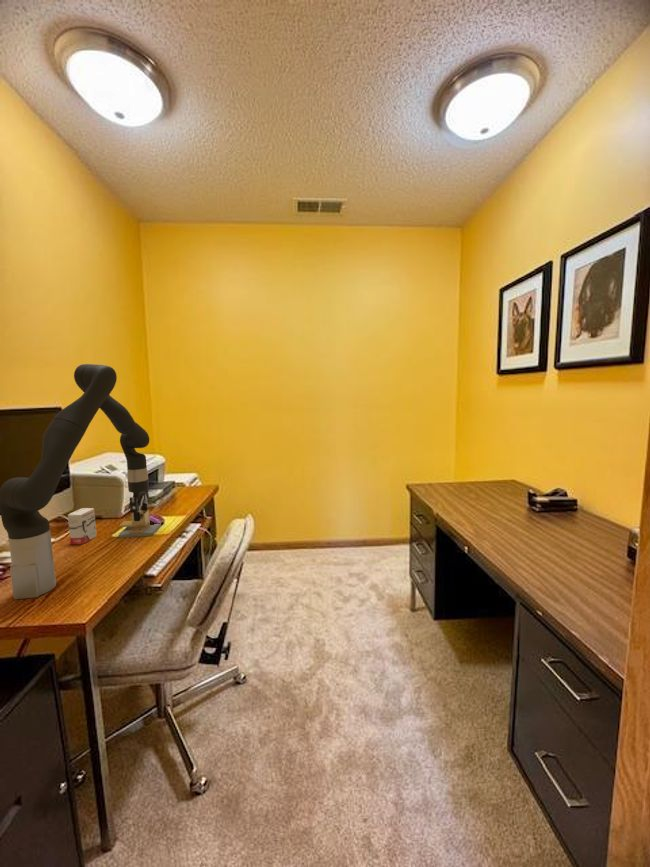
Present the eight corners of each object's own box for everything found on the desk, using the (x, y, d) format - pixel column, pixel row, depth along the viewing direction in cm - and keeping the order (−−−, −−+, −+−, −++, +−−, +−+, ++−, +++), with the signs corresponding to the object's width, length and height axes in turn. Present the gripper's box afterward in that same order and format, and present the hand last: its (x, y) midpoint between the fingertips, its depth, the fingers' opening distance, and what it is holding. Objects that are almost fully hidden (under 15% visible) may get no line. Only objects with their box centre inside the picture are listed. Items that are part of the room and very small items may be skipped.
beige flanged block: (149, 521, 152) (148, 509, 151) (145, 525, 147) (144, 513, 146) (124, 522, 151) (123, 511, 150) (119, 527, 146) (118, 515, 145)
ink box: (82, 544, 136) (79, 514, 134) (70, 545, 136) (66, 515, 135) (97, 535, 144) (94, 507, 143) (85, 536, 144) (82, 507, 143)
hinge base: (153, 535, 144) (151, 515, 143) (118, 537, 142) (116, 518, 141) (163, 522, 157) (162, 505, 156) (132, 525, 156) (130, 507, 155)
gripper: (141, 482, 141) (144, 522, 142) (153, 474, 155) (156, 511, 156) (121, 484, 140) (124, 524, 141) (134, 475, 154) (138, 512, 155)
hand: (141, 517), depth 149 cm, fingers open, 8 cm apart
